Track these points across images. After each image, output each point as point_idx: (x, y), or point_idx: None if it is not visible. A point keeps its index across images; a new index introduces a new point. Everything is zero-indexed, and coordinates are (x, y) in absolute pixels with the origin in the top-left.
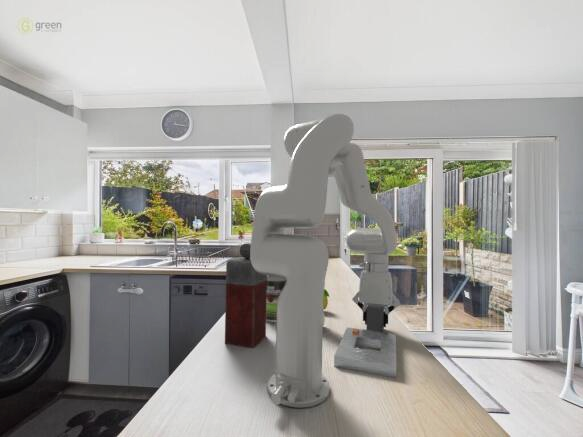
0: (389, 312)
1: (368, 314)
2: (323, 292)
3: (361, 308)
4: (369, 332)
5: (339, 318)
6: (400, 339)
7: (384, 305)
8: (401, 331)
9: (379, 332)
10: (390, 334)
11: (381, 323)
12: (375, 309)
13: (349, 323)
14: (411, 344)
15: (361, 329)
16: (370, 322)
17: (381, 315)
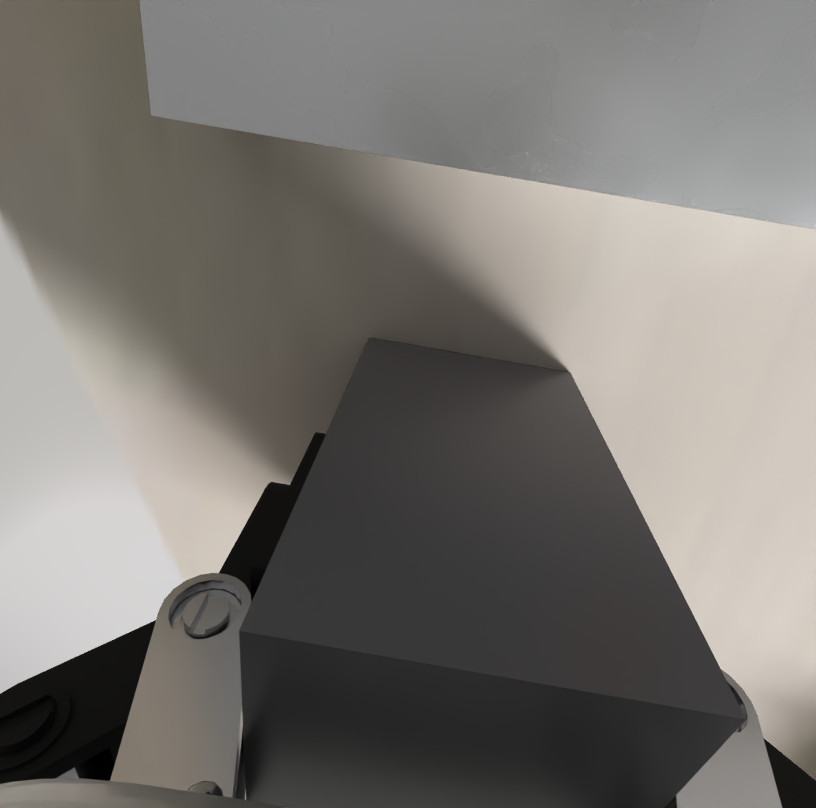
0: (163, 624)
1: (623, 553)
2: None
3: (758, 745)
4: (647, 60)
5: (761, 693)
6: (169, 265)
7: (154, 790)
8: (176, 488)
9: (437, 117)
10: (238, 60)
11: (367, 416)
12: (477, 649)
13: (695, 603)
14: (22, 118)
15: (762, 210)
16: (548, 444)
17: (339, 512)
